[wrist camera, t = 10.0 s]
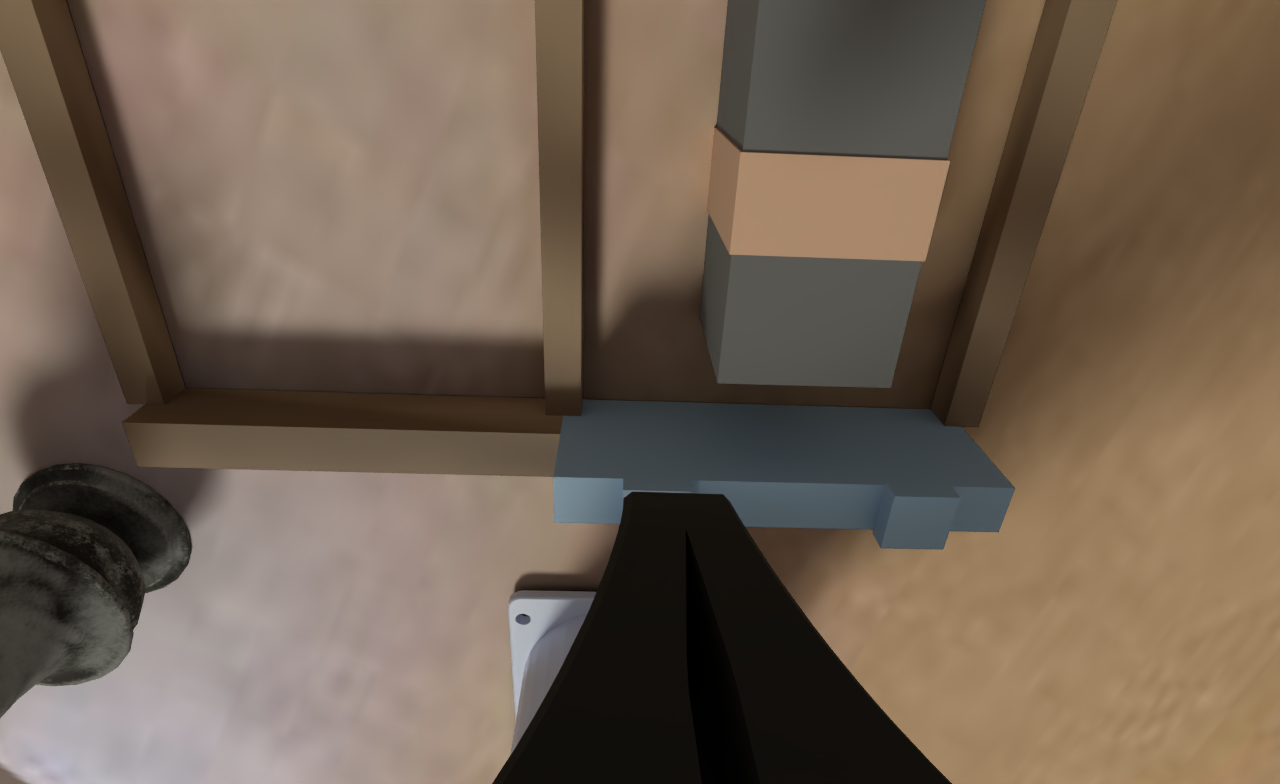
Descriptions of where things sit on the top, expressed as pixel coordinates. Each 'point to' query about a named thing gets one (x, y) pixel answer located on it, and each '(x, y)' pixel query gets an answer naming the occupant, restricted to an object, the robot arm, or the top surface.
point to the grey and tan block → (827, 182)
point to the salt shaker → (79, 573)
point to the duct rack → (577, 333)
